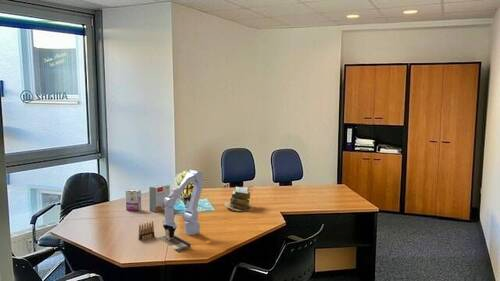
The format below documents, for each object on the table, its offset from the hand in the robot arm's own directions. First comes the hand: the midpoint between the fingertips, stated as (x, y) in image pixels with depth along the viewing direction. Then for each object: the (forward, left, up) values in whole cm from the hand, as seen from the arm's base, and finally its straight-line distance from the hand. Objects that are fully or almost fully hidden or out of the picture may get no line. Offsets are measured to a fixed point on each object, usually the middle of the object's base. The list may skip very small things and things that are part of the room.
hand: (169, 236), depth 267 cm
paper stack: (-82, -30, -3) cm, 88 cm away
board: (+1, +6, -3) cm, 7 cm away
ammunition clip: (+11, -11, -3) cm, 16 cm away
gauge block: (0, 0, -1) cm, 1 cm away
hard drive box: (-29, -68, -3) cm, 74 cm away
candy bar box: (-12, -80, -3) cm, 81 cm away
